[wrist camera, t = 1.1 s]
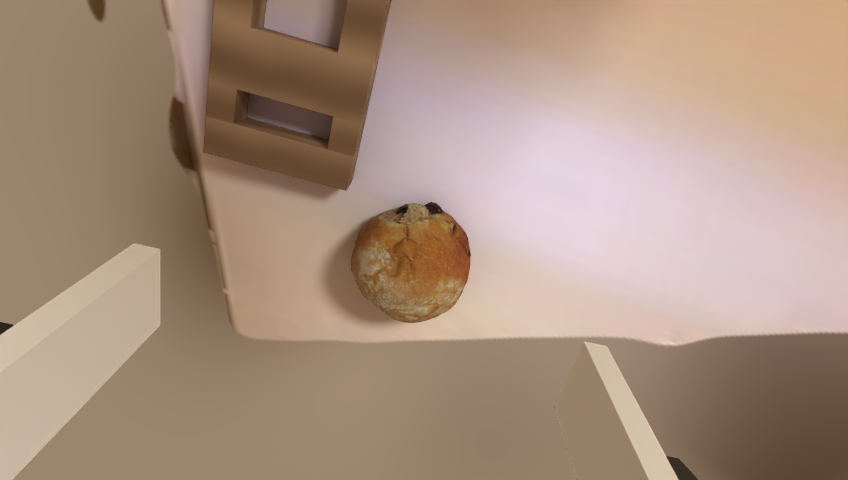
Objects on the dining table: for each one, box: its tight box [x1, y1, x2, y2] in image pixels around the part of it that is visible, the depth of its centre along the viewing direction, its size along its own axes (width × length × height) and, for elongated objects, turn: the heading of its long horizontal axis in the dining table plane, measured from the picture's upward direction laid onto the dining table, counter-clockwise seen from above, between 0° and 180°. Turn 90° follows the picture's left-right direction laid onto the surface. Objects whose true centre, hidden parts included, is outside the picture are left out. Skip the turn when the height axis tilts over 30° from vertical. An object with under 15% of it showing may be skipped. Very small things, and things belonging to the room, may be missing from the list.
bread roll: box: [351, 202, 471, 323], centre depth 39 cm, size 10×10×8 cm
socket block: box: [203, 0, 391, 190], centre depth 33 cm, size 18×11×2 cm, turn 165°
